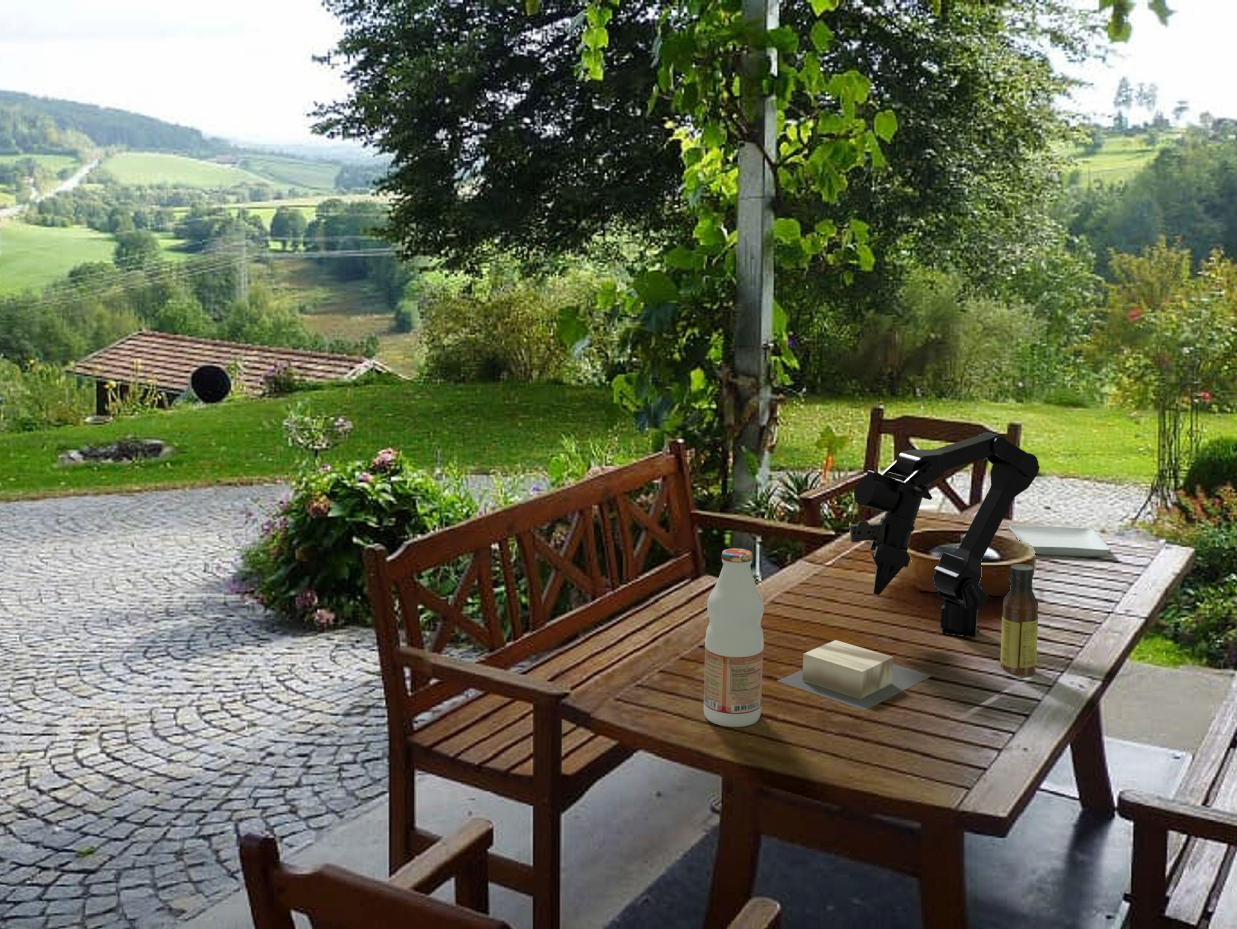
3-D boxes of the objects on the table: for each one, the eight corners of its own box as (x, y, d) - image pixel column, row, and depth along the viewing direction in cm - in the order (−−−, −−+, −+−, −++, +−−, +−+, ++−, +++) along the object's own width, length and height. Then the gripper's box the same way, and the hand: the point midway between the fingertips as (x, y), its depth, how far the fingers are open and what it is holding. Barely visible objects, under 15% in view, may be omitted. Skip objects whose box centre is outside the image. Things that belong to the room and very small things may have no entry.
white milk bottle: (693, 720, 190) (698, 554, 185) (717, 701, 198) (721, 541, 193) (747, 733, 186) (753, 563, 180) (769, 712, 194) (775, 549, 189)
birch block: (835, 640, 212) (803, 653, 205) (893, 656, 204) (862, 671, 197) (834, 666, 213) (802, 680, 206) (891, 683, 205) (860, 699, 198)
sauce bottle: (1035, 667, 215) (1044, 563, 211) (1035, 679, 210) (1044, 573, 206) (998, 663, 217) (1006, 560, 213) (997, 675, 212) (1005, 569, 208)
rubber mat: (846, 653, 222) (846, 650, 222) (931, 678, 209) (932, 675, 209) (776, 684, 206) (776, 680, 206) (864, 713, 194) (864, 710, 194)
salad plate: (1021, 557, 290) (1022, 544, 290) (1007, 536, 311) (1008, 523, 310) (1111, 562, 287) (1112, 548, 286) (1091, 540, 307) (1092, 527, 307)
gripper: (857, 501, 233) (833, 576, 234) (861, 506, 215) (836, 587, 216) (911, 518, 232) (888, 593, 232) (921, 524, 213) (895, 606, 214)
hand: (876, 594), depth 224 cm, fingers closed
